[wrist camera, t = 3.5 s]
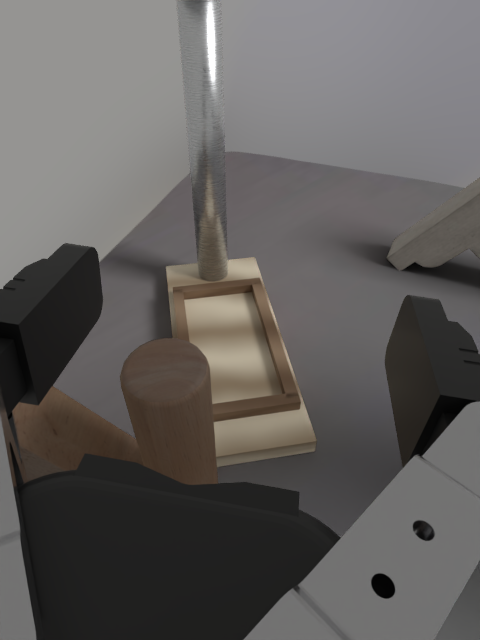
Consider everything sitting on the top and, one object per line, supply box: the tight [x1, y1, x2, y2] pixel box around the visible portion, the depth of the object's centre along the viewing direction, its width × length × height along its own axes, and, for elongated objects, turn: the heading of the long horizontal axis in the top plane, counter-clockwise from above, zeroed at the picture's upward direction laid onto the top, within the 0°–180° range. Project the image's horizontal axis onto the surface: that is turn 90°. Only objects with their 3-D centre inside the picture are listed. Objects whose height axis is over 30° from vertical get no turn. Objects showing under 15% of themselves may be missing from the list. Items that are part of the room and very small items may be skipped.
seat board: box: [166, 257, 317, 467], centre depth 42 cm, size 24×10×2 cm, turn 10°
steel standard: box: [176, 0, 228, 282], centre depth 40 cm, size 7×7×31 cm
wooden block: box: [13, 338, 218, 485], centre depth 25 cm, size 4×11×18 cm, turn 80°
